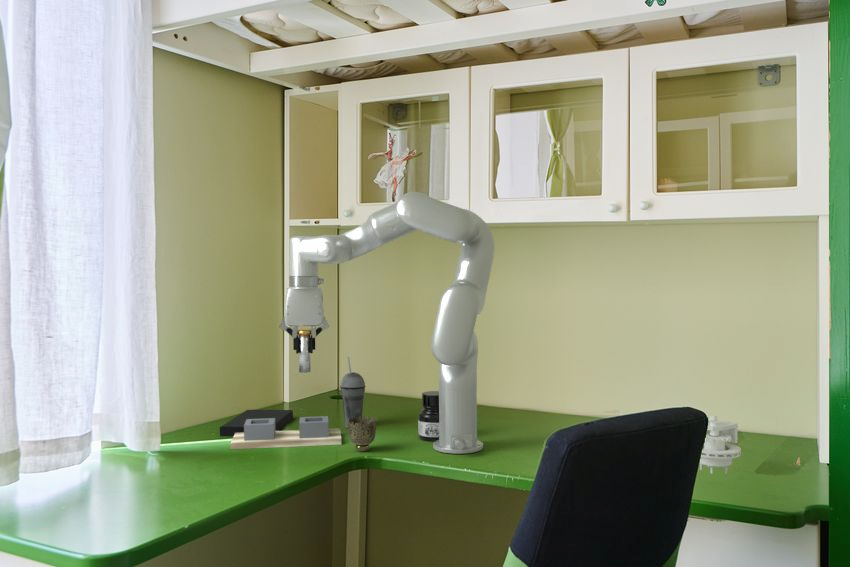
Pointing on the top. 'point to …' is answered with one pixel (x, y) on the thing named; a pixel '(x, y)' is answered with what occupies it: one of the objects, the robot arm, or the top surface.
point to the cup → (362, 432)
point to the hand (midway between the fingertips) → (304, 352)
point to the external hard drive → (238, 422)
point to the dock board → (286, 440)
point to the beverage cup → (352, 395)
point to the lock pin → (304, 351)
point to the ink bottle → (429, 416)
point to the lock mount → (313, 427)
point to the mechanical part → (720, 444)
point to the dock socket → (259, 429)
